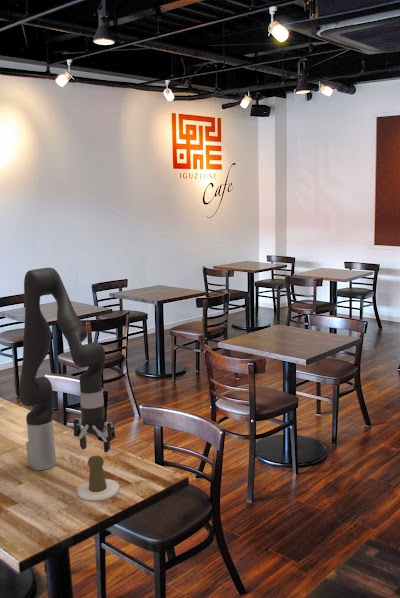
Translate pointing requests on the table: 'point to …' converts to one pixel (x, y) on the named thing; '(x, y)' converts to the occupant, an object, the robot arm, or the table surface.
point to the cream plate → (98, 496)
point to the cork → (96, 474)
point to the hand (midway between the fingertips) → (95, 450)
